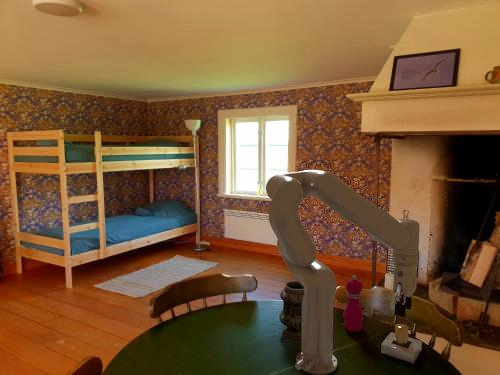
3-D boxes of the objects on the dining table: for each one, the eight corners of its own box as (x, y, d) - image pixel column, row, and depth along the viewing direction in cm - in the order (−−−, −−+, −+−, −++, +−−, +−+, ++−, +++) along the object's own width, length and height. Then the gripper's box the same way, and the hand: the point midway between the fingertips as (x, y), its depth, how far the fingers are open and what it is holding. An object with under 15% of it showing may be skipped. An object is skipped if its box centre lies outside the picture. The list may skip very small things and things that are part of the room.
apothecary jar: (302, 344, 126) (302, 293, 125) (272, 334, 134) (272, 285, 132) (318, 330, 136) (319, 283, 134) (290, 321, 143) (290, 276, 141)
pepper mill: (365, 332, 135) (367, 278, 133) (345, 332, 135) (346, 278, 133) (360, 323, 142) (361, 272, 140) (340, 323, 142) (342, 272, 140)
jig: (413, 363, 115) (413, 354, 115) (381, 352, 121) (381, 344, 121) (421, 349, 123) (421, 341, 123) (390, 340, 129) (390, 332, 129)
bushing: (406, 354, 119) (406, 330, 119) (393, 351, 122) (393, 327, 121) (409, 349, 123) (409, 325, 122) (396, 346, 125) (396, 322, 124)
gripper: (410, 267, 110) (407, 325, 112) (424, 254, 124) (421, 306, 125) (384, 262, 114) (382, 318, 116) (400, 250, 128) (398, 300, 130)
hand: (403, 311), depth 121 cm, fingers open, 6 cm apart
